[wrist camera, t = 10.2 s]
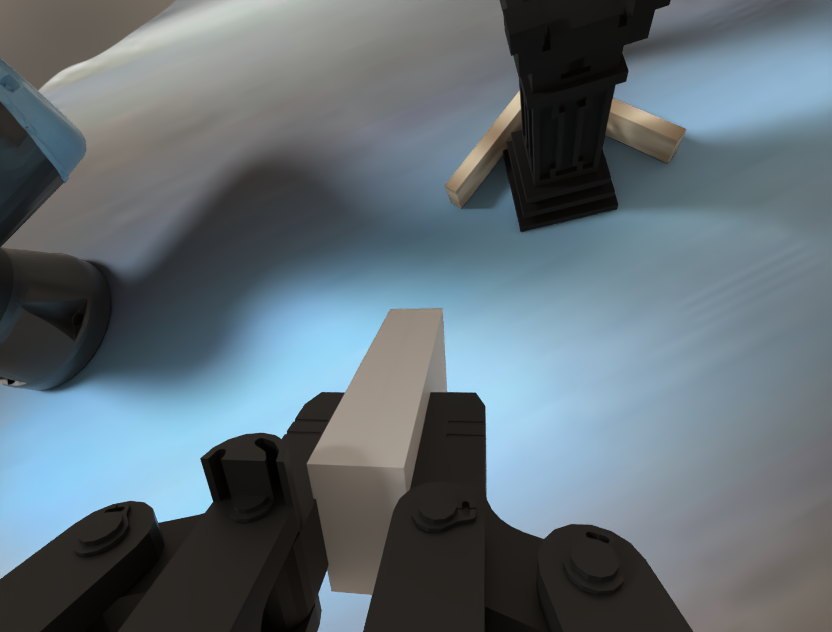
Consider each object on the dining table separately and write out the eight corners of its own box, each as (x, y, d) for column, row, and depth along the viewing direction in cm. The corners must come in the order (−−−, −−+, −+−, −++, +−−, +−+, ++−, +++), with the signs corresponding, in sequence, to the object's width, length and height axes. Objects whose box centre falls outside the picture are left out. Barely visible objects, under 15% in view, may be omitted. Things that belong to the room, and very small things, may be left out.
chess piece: (503, 155, 42) (473, -74, 23) (592, 130, 40) (636, -137, 22) (520, 231, 40) (502, 44, 21) (616, 209, 38) (689, -17, 19)
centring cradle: (401, 154, 45) (245, -169, 21) (532, 38, 45) (521, -422, 21) (531, 280, 38) (514, 13, 14) (687, 145, 38) (934, -358, 14)
